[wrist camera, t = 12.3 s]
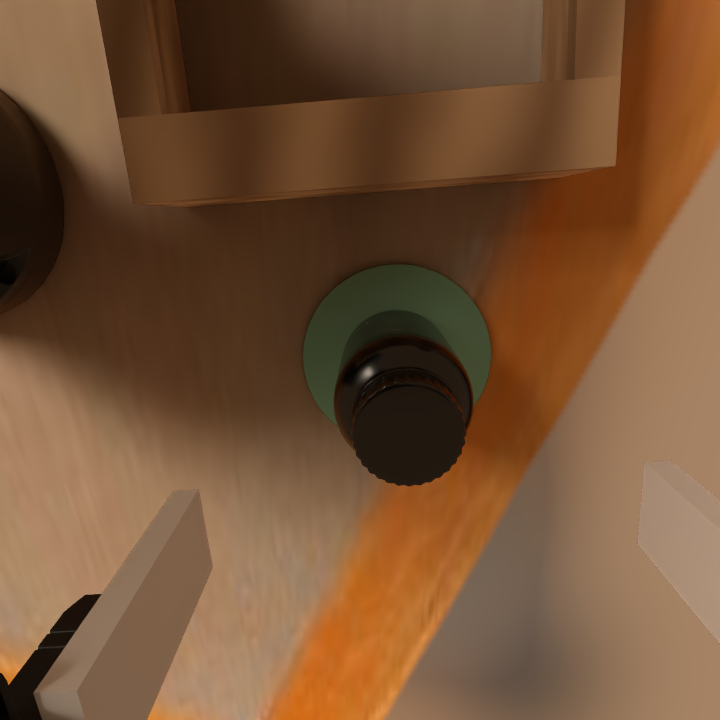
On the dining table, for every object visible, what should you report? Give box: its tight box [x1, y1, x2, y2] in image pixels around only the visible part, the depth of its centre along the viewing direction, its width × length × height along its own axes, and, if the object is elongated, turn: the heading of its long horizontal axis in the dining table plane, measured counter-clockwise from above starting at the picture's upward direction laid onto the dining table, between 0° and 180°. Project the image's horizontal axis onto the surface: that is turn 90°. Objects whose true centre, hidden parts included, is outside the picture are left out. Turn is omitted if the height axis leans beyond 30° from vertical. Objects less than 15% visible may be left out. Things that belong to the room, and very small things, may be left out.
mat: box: [303, 264, 491, 426], centre depth 33 cm, size 12×12×1 cm
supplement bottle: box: [334, 310, 474, 486], centre depth 27 cm, size 7×7×12 cm
